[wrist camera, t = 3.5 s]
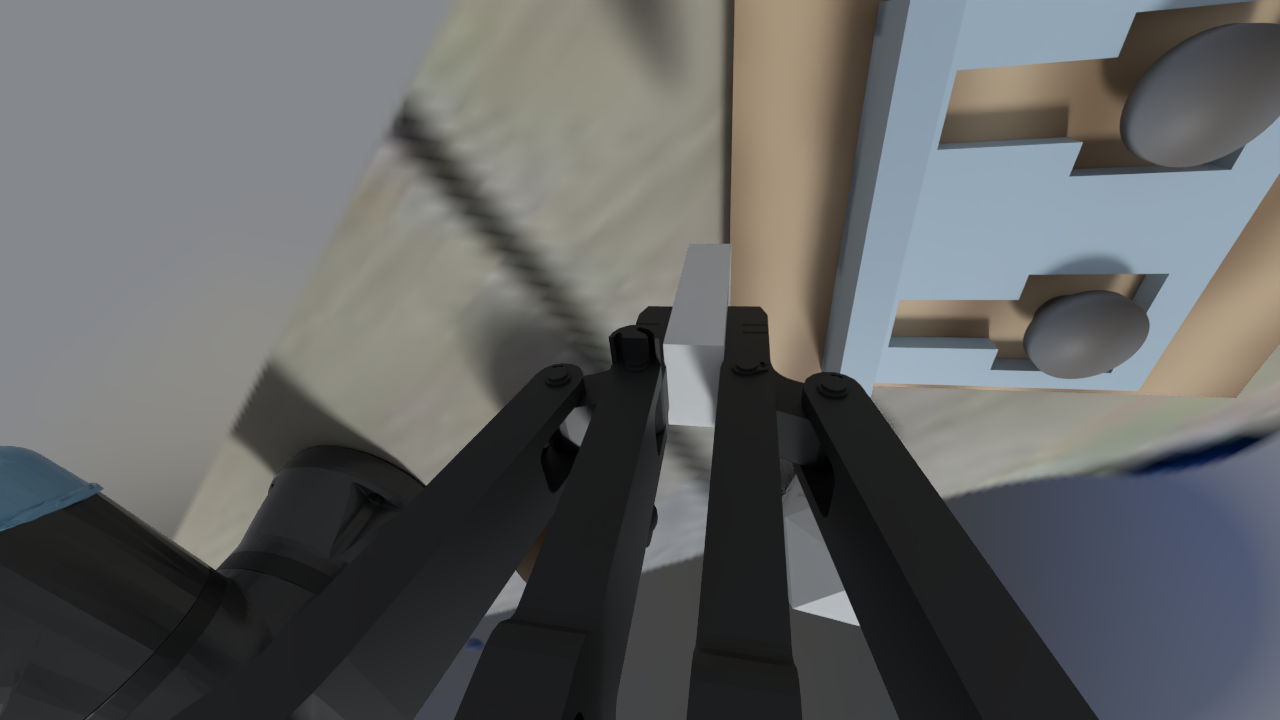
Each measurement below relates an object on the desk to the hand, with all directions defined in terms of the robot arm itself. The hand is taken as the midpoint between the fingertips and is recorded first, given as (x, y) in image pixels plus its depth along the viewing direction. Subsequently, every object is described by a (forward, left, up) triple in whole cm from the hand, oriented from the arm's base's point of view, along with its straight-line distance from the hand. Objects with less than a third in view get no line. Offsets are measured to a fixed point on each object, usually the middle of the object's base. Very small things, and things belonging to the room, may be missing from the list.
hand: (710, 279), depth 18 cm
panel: (+13, 0, -6) cm, 14 cm away
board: (+13, 0, -7) cm, 14 cm away
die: (+8, -20, -7) cm, 22 cm away
